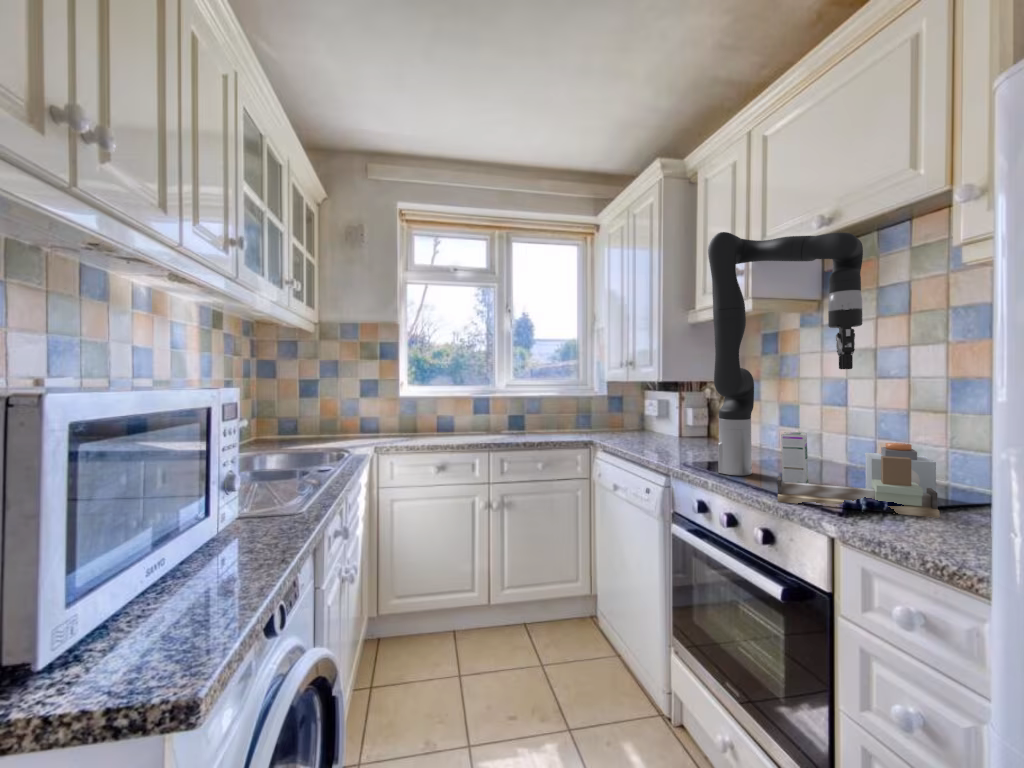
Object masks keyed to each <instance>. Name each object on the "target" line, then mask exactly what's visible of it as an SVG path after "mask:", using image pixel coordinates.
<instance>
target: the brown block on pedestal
mask: <svg viewBox="0 0 1024 768" xmlns="http://www.w3.org/2000/svg"><path fill="white" fill-rule="evenodd" d="M872 489H875V500H878V501H886V502H894V503H897V504H902V505H913V506H922V496H923V489H922V488H921V487H920V486H919V485H917V484H916V483H915V482H911V459H910V458H909V457H890V456H881V480H875V479H872Z"/></svg>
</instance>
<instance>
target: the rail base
mask: <svg viewBox="0 0 1024 768" xmlns="http://www.w3.org/2000/svg"><path fill="white" fill-rule="evenodd" d="M864 497H866V498H872V499H875V489H866V487H854V486H839V485H830V484H829V485H828V484H817V483H816V484H815V483H808V484H806V483H794V482H782V475H781V476H779V475H778V476H777V502H778V503H779V502H780V503H789V504H796V505H798V503H802V502H816V503H825V504H842V503H843V502H844V500H852V501H854V500H857V499H861V498H864ZM888 507H890V508H891V509H894V511H895V512H896V513H898V515H906V516H918V517H926V518H935V519H936V518H937V519H939V518H940V517H941V516H940V514H941V513H940V510H939V509H938V492H937V491H936V492H935V491H934V490H933V489H932V488H927V493H923V496H922V506H913V505H904V506H902V505H901V506H888Z"/></svg>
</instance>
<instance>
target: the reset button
mask: <svg viewBox="0 0 1024 768" xmlns="http://www.w3.org/2000/svg"><path fill="white" fill-rule="evenodd" d="M885 447H886V449H890V450H902V451H909V450H912V449H913V445H912V444H910V443H903V442H885Z"/></svg>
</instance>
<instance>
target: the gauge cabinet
mask: <svg viewBox="0 0 1024 768" xmlns="http://www.w3.org/2000/svg"><path fill="white" fill-rule="evenodd" d="M864 456H865V488H866V489H872V479H875V480H881V456H890V457H909V458H910V459H911V482H915V483H916V484H917V485H919V486H920V487H921V488H922V489H923V493H927V488H932V489H933V490H934V491H935V492H937V462H936V461H934V460H933V459H931V458H929V457H927V456H926V455H918V451H917V450H915V449H914V448H912V450H909V451H902V450H890V449H886V446H880V453H879V452H878V453H877V452H876V453H875V452H865V455H864Z"/></svg>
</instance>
